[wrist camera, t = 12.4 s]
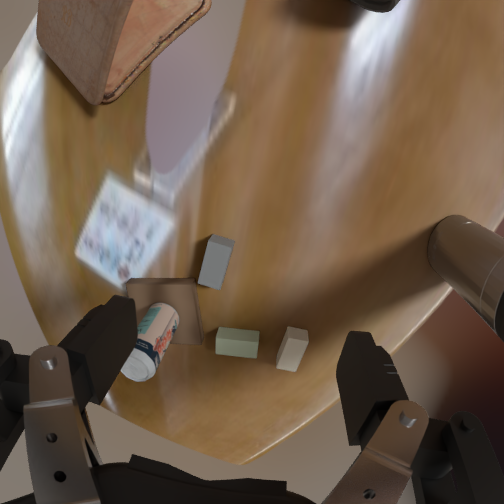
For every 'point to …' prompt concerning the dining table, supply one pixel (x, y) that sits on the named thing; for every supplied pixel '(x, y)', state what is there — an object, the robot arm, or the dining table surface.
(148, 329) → the beer can
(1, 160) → the dining table surface
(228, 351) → the sage brick
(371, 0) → the bluetooth speaker
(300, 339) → the cream brick
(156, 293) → the walnut slab
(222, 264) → the slate brick
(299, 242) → the dining table surface
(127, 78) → the case
